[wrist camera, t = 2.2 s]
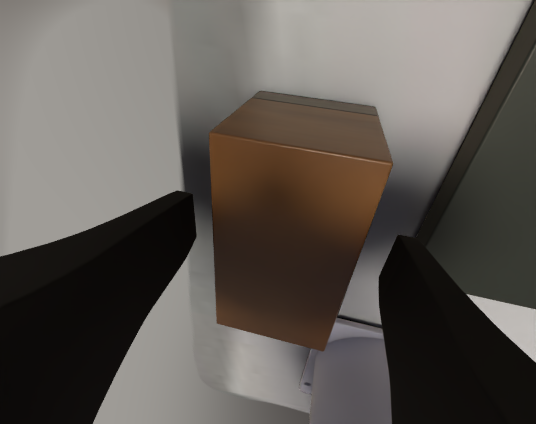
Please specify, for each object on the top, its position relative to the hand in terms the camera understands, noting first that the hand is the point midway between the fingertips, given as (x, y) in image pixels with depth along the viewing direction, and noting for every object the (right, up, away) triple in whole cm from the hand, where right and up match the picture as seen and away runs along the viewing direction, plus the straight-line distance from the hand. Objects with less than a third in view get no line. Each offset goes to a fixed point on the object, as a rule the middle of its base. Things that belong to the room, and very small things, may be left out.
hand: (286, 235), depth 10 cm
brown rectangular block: (+1, +2, +3) cm, 4 cm away
